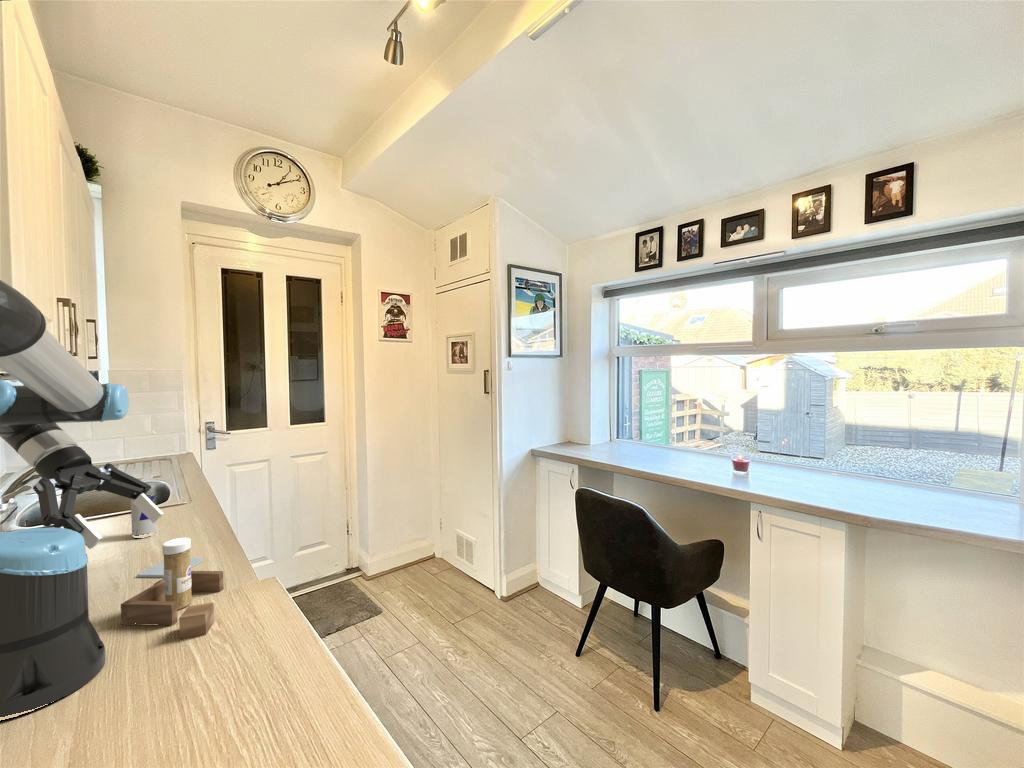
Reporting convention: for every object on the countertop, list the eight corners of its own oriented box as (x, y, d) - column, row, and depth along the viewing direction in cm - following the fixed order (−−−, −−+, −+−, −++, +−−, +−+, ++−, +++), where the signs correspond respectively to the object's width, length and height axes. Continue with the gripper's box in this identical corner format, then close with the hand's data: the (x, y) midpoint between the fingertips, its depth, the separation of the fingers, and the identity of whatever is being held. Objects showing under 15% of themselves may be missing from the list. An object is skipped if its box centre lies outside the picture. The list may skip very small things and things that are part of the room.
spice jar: (191, 607, 86) (189, 542, 85) (162, 614, 83) (160, 547, 83) (193, 597, 89) (191, 534, 89) (165, 604, 87) (163, 539, 86)
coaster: (174, 577, 98) (174, 575, 98) (137, 577, 98) (137, 574, 98) (203, 560, 107) (203, 558, 107) (169, 560, 107) (169, 557, 107)
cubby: (172, 625, 79) (171, 604, 79) (121, 624, 80) (120, 604, 80) (223, 588, 93) (223, 571, 93) (179, 588, 93) (179, 570, 93)
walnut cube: (206, 635, 76) (205, 613, 76) (179, 639, 75) (179, 617, 75) (214, 622, 80) (213, 602, 80) (189, 626, 79) (188, 606, 79)
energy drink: (159, 534, 125) (157, 494, 124) (135, 541, 120) (134, 499, 120) (152, 531, 127) (150, 492, 127) (129, 537, 123) (127, 496, 123)
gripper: (105, 457, 99) (169, 521, 99) (-36, 486, 74) (49, 571, 74) (126, 435, 99) (190, 498, 99) (-8, 457, 74) (77, 541, 74)
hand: (130, 530), depth 87 cm, fingers open, 13 cm apart
